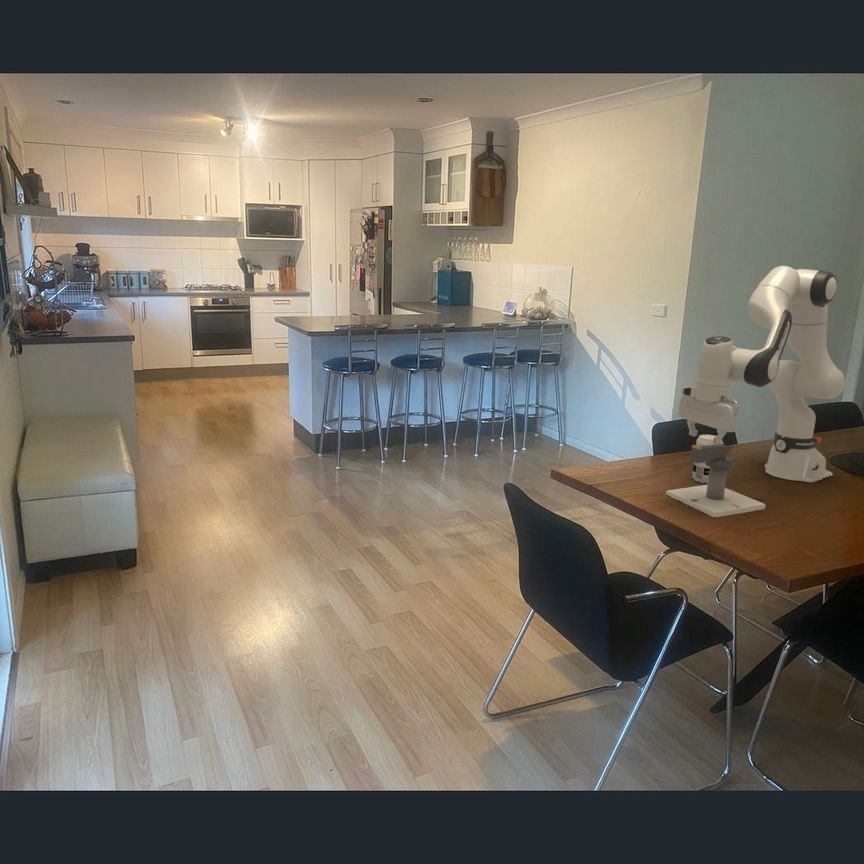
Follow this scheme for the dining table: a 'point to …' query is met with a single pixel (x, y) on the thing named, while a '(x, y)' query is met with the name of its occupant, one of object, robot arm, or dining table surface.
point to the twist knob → (712, 456)
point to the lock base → (715, 504)
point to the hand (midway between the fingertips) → (704, 439)
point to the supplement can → (702, 469)
